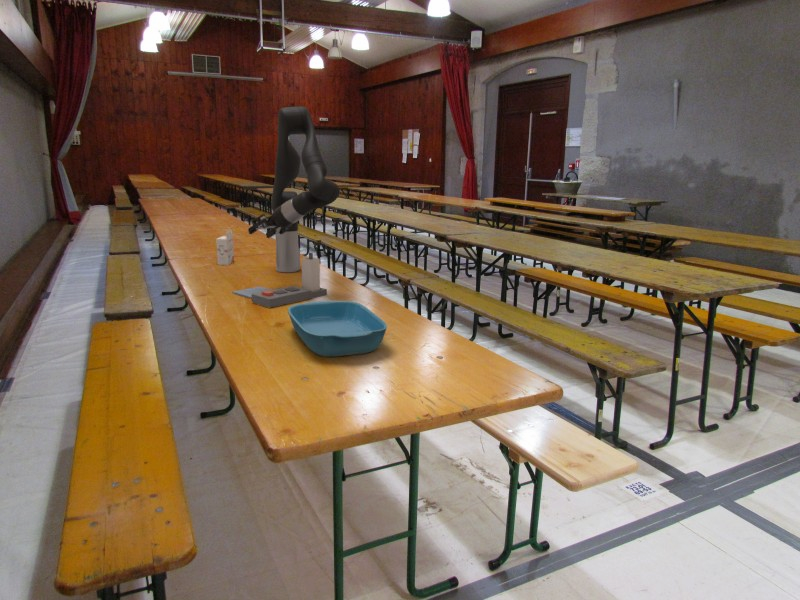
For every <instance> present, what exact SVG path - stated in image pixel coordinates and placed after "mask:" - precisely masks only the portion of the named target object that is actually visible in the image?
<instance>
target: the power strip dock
mask: <svg viewBox="0 0 800 600" xmlns="http://www.w3.org/2000/svg"><path fill="white" fill-rule="evenodd" d="M326 294H327V295H328V288H325V287H324V288H323V287H320V290H317V291H312V292H311V290H308V289H304V288H302V287H300V286H296V285H291V286H286V287H282V288H281V287H279V288H275V289H271V290H270V291H264V292H259V293H254V294H252V299H251V303H252V302H253V303H252V304H254V303H256V304H255V305H257V304H259V306H261V305H262V306H261V307H264V306H265V308H267V307H269V308H268V309H272V308H271V307H273V308H276V306H277V307H280V305H282V306H285V305H284V304H286V305H290V304H294V303H293V302H295V303H298V302H297V301H299V302H303V301H302V300H304V301H308V300H311V299H313V297H314V298H319V297H322V296H326ZM318 296H319V297H318ZM307 299H308V300H307ZM289 303H290V304H289Z"/></svg>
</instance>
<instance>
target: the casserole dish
mask: <svg viewBox="0 0 800 600" xmlns="http://www.w3.org/2000/svg"><path fill="white" fill-rule="evenodd" d="M287 313H288V315H289V318H290V322H291V325H292V327H293V329H294V331H295V332H296V334H297V335H298V336H299V338H300V339H301V340H302V342H303V343H304V344H305V346H306V347H307V348H308V349H309V350H310V351H312V352H313V353H315V354H316V355H318V356H319V357H325V358H327V357H329V358H330V357H331V358H332V357H340V356H341V357H342V356H343V357H344V356H349V355H351V356H352V355H361V354H369V353H371V352H374V351H375V350H377V349H378V348H379V347H380V346H381V345H382V342H383V340H384V337H385V334H386V331H387V328H388V324H387V323H386V322H385V321H384V320H383V319H382V318H381V317H379V316H378V315H377V314H375V313H374V312H373V311H372V310H370V309H369V308H368V307H367V306H365V305H364V304H362V303H359V302H357V301H352V300H351V301H350V300H316V301H315V300H314V301H307V302H304V303H297V304H292V305H291V306H289V307H288V309H287Z"/></svg>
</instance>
